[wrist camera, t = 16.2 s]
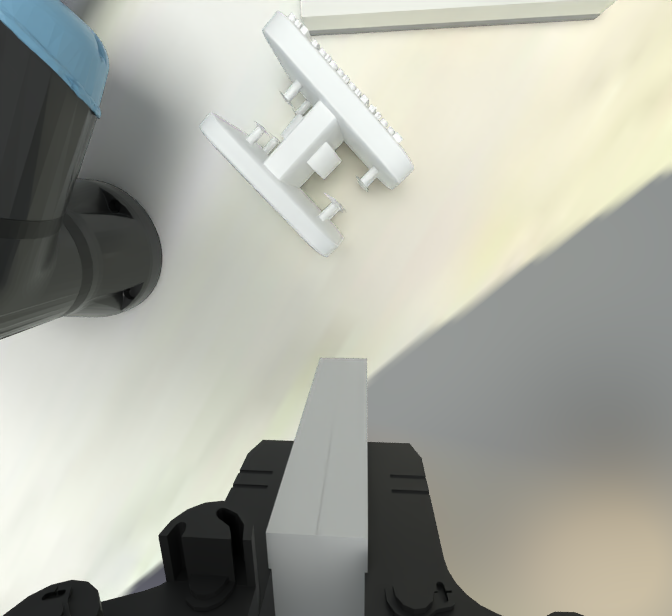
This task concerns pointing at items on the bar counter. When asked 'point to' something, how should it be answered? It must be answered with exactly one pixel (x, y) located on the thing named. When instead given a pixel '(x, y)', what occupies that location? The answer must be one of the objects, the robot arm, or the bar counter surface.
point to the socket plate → (438, 13)
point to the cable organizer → (311, 137)
